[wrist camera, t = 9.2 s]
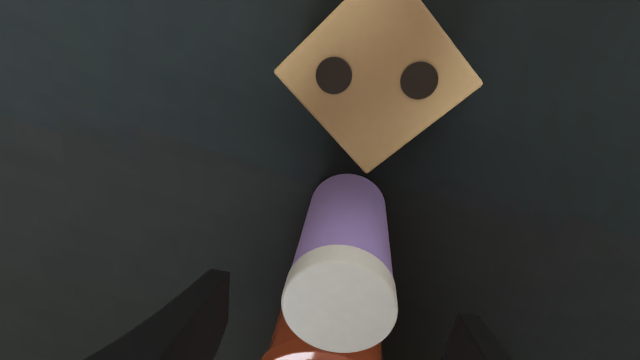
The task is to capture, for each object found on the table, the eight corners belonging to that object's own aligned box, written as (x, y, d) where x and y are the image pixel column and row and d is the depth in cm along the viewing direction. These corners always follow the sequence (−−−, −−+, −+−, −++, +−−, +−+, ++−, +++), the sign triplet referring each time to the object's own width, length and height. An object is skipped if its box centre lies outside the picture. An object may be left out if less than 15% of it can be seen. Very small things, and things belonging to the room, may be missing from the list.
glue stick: (402, 212, 18) (423, 320, 12) (344, 252, 19) (333, 369, 13) (352, 156, 17) (344, 240, 11) (294, 202, 18) (256, 301, 12)
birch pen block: (452, 65, 15) (485, 85, 11) (366, 136, 17) (366, 176, 13) (381, -27, 14) (388, -45, 10) (296, 57, 16) (271, 72, 11)
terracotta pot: (408, 325, 21) (422, 421, 16) (326, 371, 23) (315, 468, 18) (334, 251, 19) (323, 331, 14) (253, 308, 21) (220, 394, 17)
